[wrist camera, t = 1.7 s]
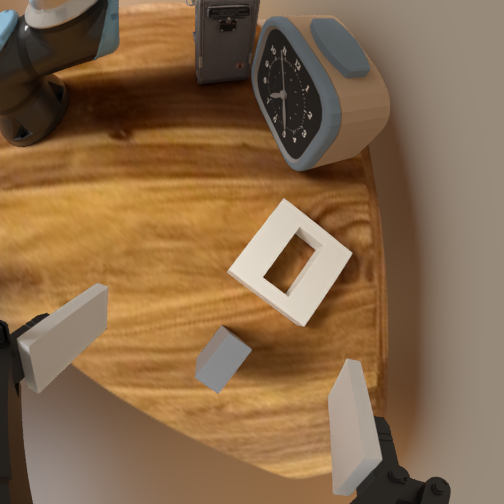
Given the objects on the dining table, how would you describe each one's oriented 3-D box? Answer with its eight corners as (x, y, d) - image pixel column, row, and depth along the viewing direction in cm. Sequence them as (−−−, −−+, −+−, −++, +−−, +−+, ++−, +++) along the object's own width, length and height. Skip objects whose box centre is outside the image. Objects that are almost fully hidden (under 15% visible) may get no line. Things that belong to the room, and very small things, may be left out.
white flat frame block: (226, 272, 46) (228, 269, 43) (278, 205, 49) (283, 198, 46) (296, 325, 47) (304, 326, 43) (342, 256, 50) (352, 253, 46)
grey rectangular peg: (196, 357, 44) (194, 377, 31) (221, 324, 45) (229, 333, 32) (213, 369, 44) (218, 393, 31) (238, 337, 45) (252, 349, 32)
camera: (234, 43, 58) (241, -37, 40) (251, 86, 52) (263, -13, 33) (183, 48, 56) (181, -34, 38) (189, 91, 50) (185, -11, 31)
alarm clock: (245, 86, 52) (268, -5, 31) (292, 78, 54) (328, -5, 33) (290, 185, 50) (345, 113, 29) (340, 171, 52) (408, 104, 31)
